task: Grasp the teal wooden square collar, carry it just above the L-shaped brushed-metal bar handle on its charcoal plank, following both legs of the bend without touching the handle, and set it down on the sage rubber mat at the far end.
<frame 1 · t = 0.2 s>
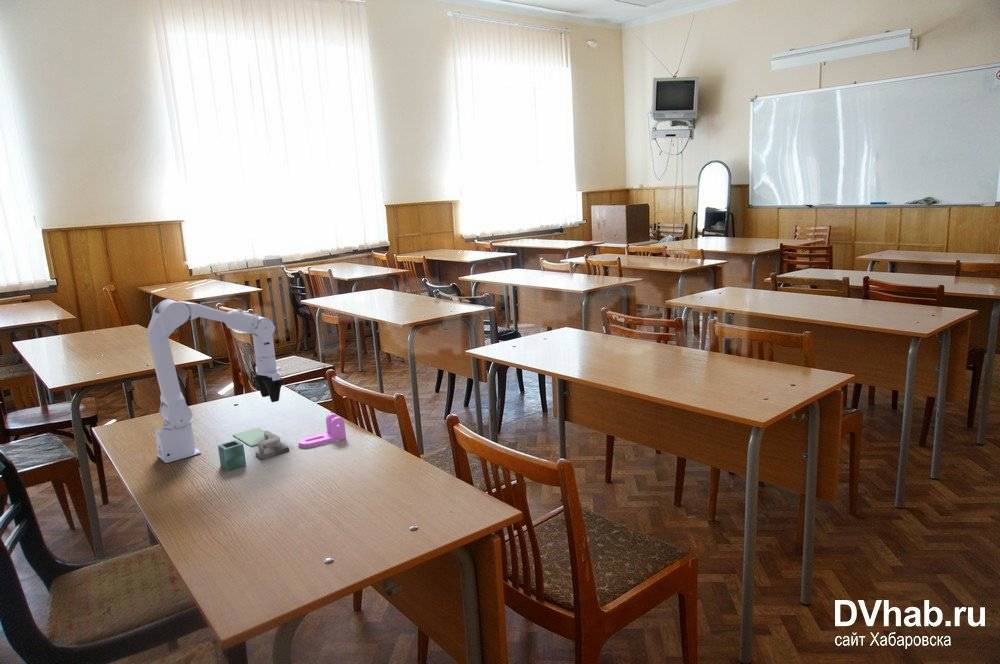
hand: (270, 398, 205), 10 cm above the table, tool pointing down, fingers open, 7 cm apart
collar: (233, 465, 180), on the table
end mat: (255, 437, 201), on the table
bracket: (321, 442, 195), on the table
bar handle: (279, 451, 189), on the table
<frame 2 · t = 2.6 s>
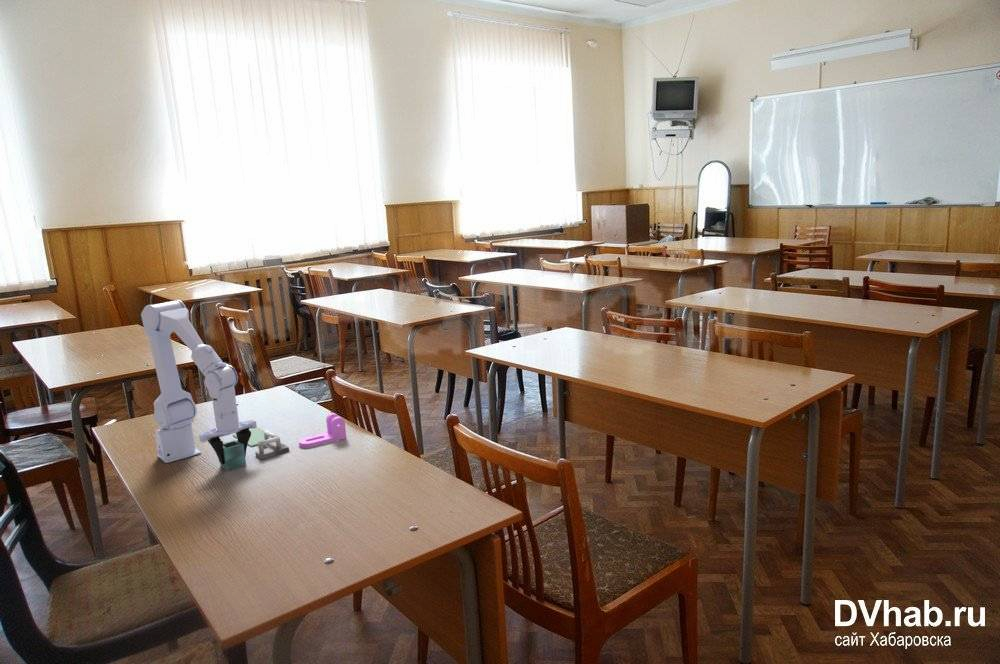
hand: (232, 459, 180), 2 cm above the table, tool pointing down, fingers closed on collar, 5 cm apart
collar: (233, 465, 180), on the table, touching gripper
everything else where it was.
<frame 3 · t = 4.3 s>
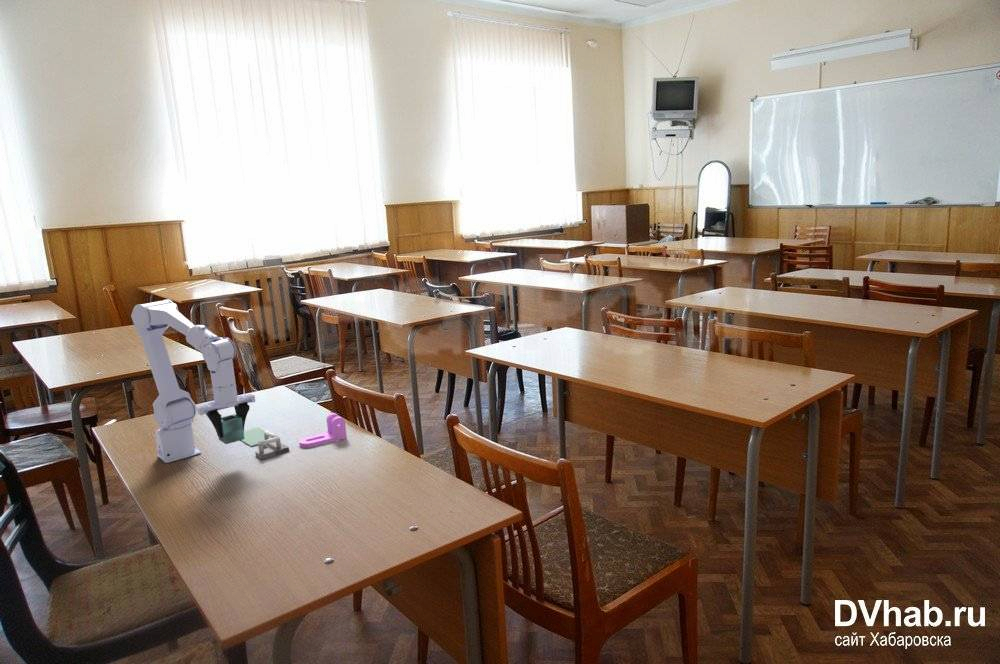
hand: (230, 433, 179), 9 cm above the table, tool pointing down, fingers closed on collar, 5 cm apart
collar: (231, 439, 179), point 7 cm above the table, touching gripper
everything else where it was.
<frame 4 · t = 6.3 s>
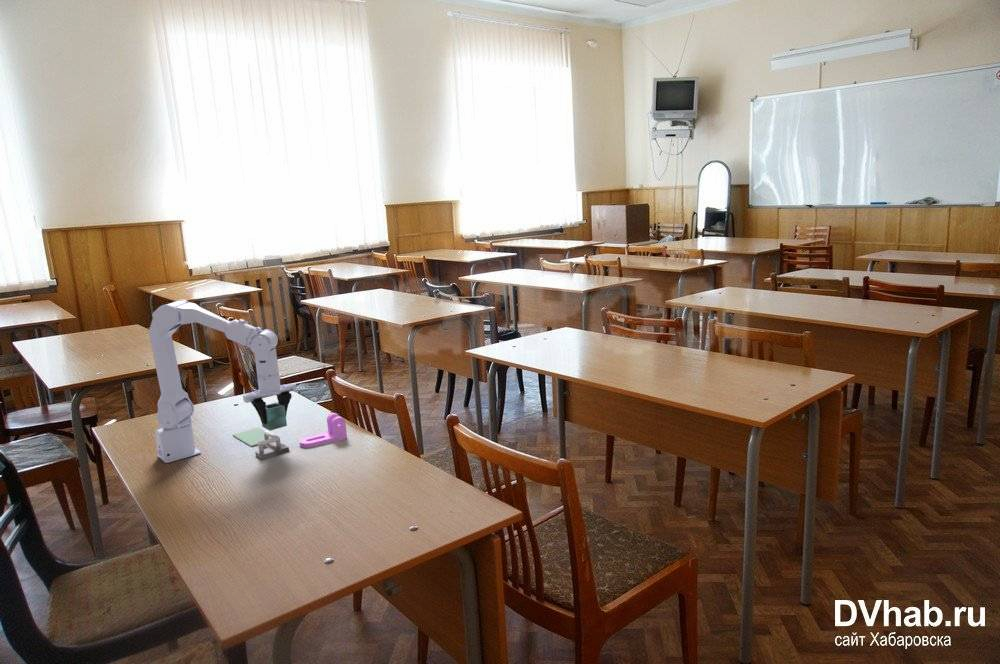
hand: (273, 420, 188), 9 cm above the table, tool pointing down, fingers closed on collar, 5 cm apart
collar: (274, 426, 188), point 7 cm above the table, touching gripper
everything else where it was.
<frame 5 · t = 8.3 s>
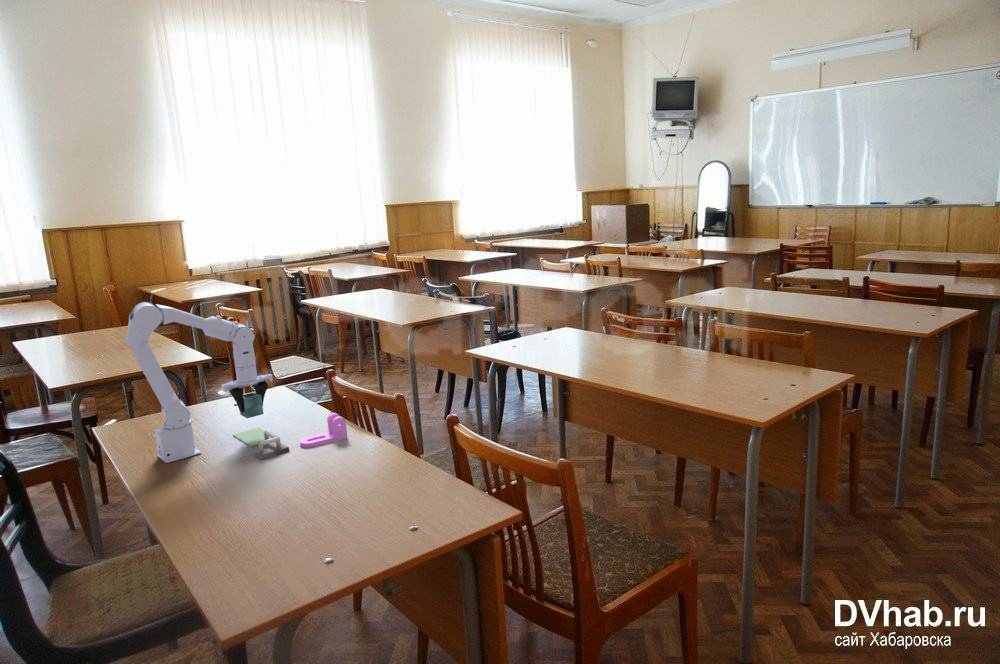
hand: (251, 409, 199), 9 cm above the table, tool pointing down, fingers closed on collar, 5 cm apart
collar: (252, 414, 200), point 7 cm above the table, touching gripper
everything else where it was.
when the fingers open (4 cm above the table, at t = 9.9 s): collar drops 1 cm, resting on end mat.
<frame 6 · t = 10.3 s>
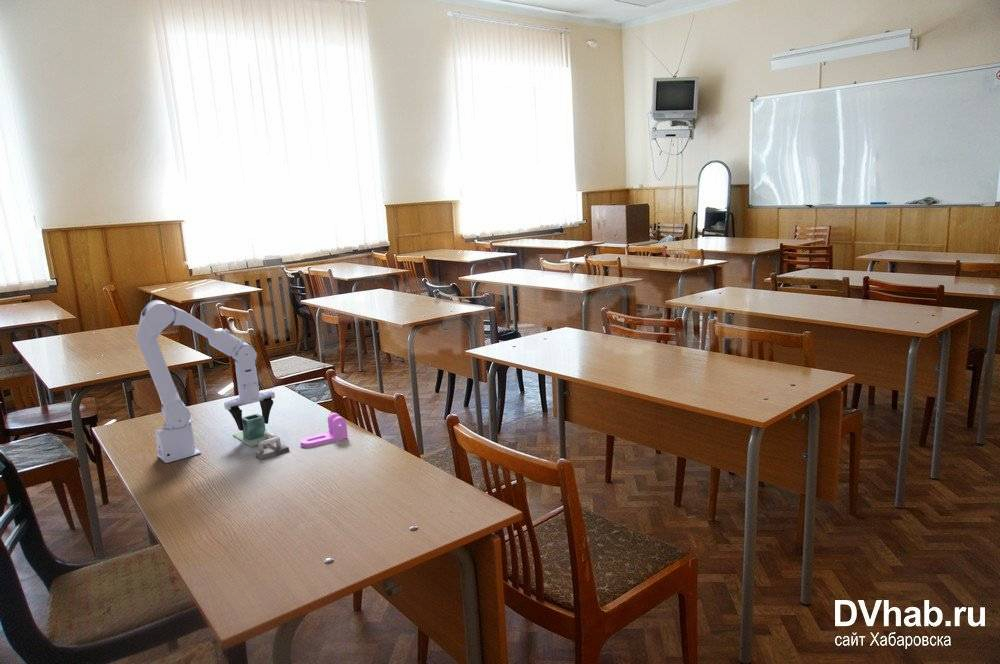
hand: (253, 426, 201), 4 cm above the table, tool pointing down, fingers open, 7 cm apart
collar: (254, 436, 201), resting on end mat
everything else where it was.
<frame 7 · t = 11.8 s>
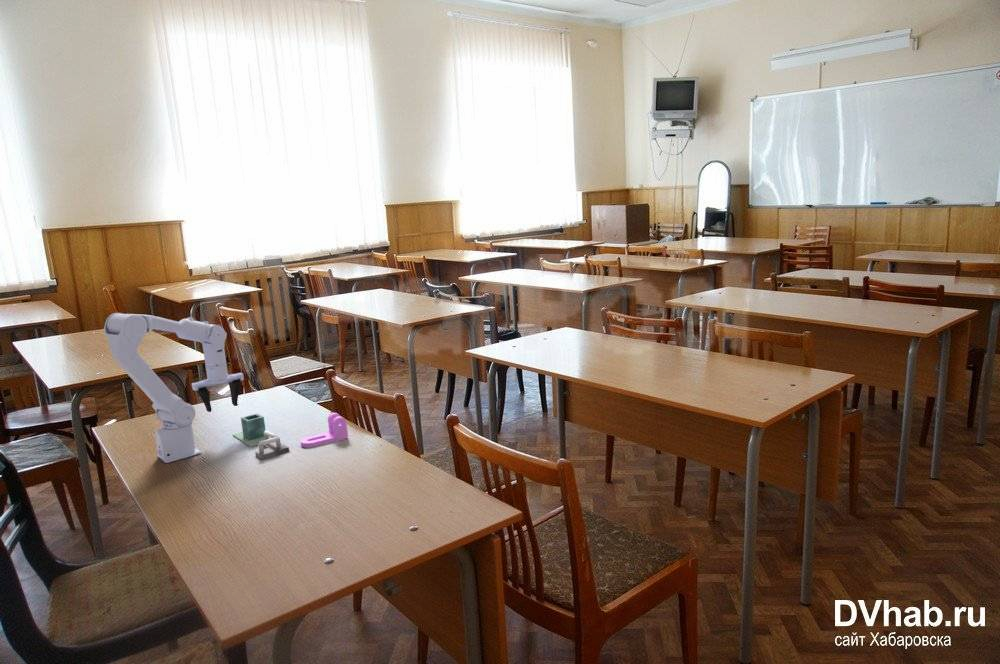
hand: (222, 408, 201), 9 cm above the table, tool pointing down, fingers open, 7 cm apart
nothing on the table moved.
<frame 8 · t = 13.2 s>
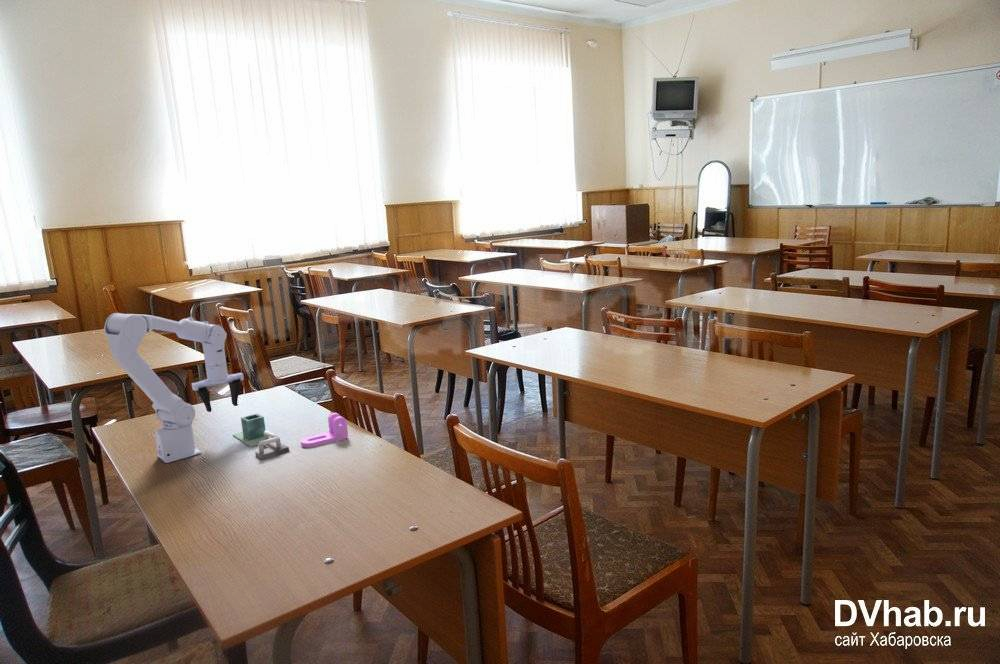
hand: (222, 408, 201), 9 cm above the table, tool pointing down, fingers open, 7 cm apart
nothing on the table moved.
at the end: collar inside the target area (0.0 cm from its centre), resting on end mat; collar tilted 0°; collar touching end mat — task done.
